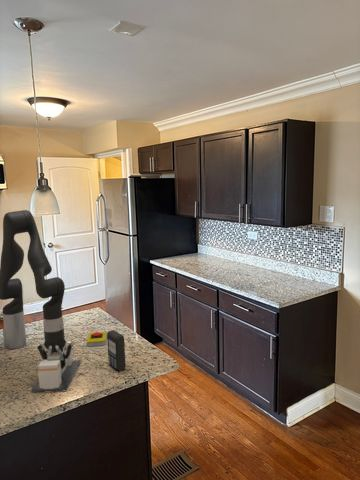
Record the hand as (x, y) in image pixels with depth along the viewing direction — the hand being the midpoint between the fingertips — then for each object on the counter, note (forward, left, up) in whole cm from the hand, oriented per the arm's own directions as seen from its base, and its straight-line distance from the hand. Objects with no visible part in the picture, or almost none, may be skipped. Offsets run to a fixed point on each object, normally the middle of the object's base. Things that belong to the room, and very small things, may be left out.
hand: (57, 367), depth 144 cm
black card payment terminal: (+23, +6, -4) cm, 24 cm away
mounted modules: (0, 0, -3) cm, 3 cm away
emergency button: (+10, +32, -5) cm, 34 cm away
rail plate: (0, 0, -4) cm, 4 cm away
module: (0, 0, -1) cm, 1 cm away
